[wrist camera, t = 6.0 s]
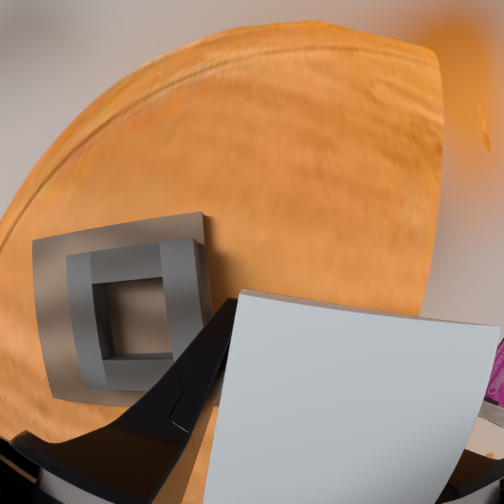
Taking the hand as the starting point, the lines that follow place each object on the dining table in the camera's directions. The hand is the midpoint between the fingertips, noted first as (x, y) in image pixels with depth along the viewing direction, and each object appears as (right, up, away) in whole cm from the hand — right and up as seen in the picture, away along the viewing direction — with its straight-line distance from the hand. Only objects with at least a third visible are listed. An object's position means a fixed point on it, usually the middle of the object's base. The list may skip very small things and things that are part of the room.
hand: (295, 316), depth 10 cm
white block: (0, -2, +7) cm, 7 cm away
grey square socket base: (-13, -4, +13) cm, 19 cm away
